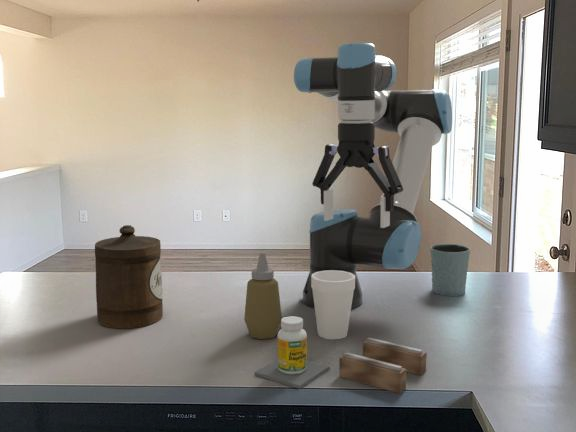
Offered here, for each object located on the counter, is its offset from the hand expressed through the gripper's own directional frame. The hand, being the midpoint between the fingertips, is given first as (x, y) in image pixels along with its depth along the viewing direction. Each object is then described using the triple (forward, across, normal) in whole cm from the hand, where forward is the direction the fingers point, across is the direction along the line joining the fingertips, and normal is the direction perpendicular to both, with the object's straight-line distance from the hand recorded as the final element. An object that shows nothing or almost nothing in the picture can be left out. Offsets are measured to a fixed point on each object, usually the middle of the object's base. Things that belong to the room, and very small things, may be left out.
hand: (356, 223), depth 129 cm
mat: (+23, +1, -26) cm, 35 cm away
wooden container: (+24, -47, -23) cm, 57 cm away
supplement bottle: (+23, +1, -26) cm, 34 cm away
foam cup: (+24, -3, -5) cm, 25 cm away
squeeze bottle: (+24, -15, -14) cm, 31 cm away
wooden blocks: (+23, +15, -17) cm, 32 cm away
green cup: (+26, +6, +40) cm, 48 cm away
